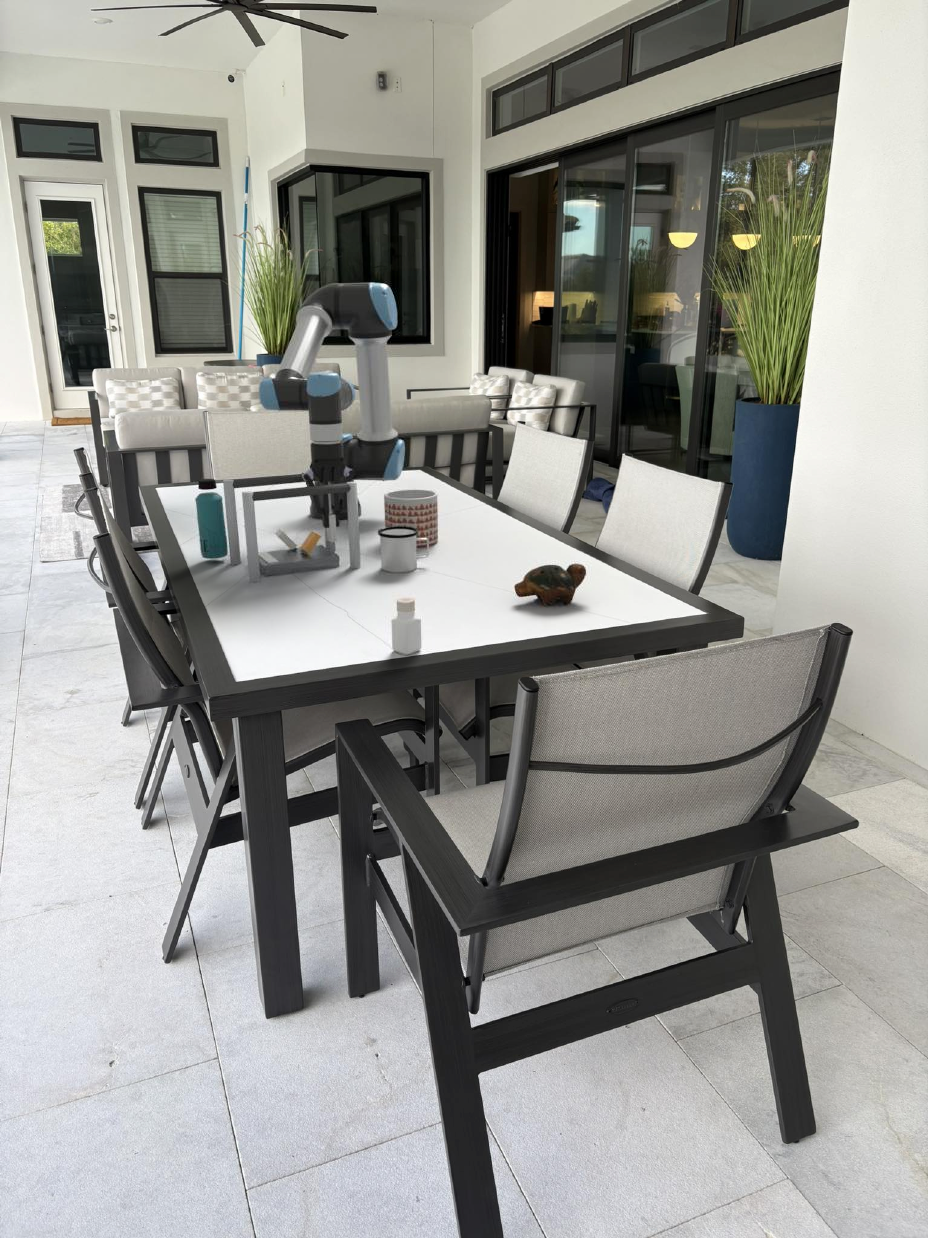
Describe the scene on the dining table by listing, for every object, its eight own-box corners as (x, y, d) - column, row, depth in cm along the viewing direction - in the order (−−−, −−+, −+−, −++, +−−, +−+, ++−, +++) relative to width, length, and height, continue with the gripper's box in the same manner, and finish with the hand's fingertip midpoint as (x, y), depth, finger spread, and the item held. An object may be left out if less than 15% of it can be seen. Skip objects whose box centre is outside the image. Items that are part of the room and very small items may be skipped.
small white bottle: (406, 656, 156) (405, 604, 153) (391, 651, 158) (389, 600, 155) (422, 650, 159) (421, 599, 156) (407, 645, 161) (405, 594, 158)
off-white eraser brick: (295, 544, 218) (279, 528, 215) (299, 547, 216) (283, 531, 213) (290, 549, 218) (274, 533, 215) (294, 552, 216) (278, 536, 213)
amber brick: (303, 553, 214) (317, 534, 215) (307, 556, 212) (321, 536, 212) (298, 550, 213) (312, 530, 214) (302, 552, 211) (316, 533, 211)
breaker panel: (322, 554, 222) (322, 543, 221) (339, 566, 212) (339, 554, 211) (250, 564, 214) (250, 552, 213) (265, 576, 204) (264, 564, 203)
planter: (446, 538, 237) (446, 491, 233) (423, 550, 225) (422, 500, 221) (401, 533, 242) (400, 487, 238) (376, 545, 231) (374, 496, 227)
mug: (383, 575, 204) (382, 536, 201) (375, 564, 213) (374, 527, 210) (434, 570, 207) (433, 532, 205) (424, 560, 216) (423, 524, 213)
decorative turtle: (594, 604, 183) (594, 567, 180) (525, 616, 180) (524, 579, 176) (575, 588, 192) (575, 553, 189) (509, 599, 188) (507, 564, 185)
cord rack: (333, 549, 226) (329, 470, 220) (362, 567, 210) (358, 483, 204) (229, 562, 215) (221, 479, 208) (251, 583, 199) (243, 493, 192)
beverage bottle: (234, 559, 218) (227, 477, 211) (218, 566, 212) (210, 482, 206) (211, 557, 220) (203, 475, 213) (195, 563, 214) (186, 480, 208)
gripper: (347, 437, 213) (351, 534, 221) (294, 441, 208) (300, 540, 215) (358, 441, 207) (362, 540, 215) (304, 445, 201) (310, 547, 209)
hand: (331, 540), depth 215 cm, fingers closed
